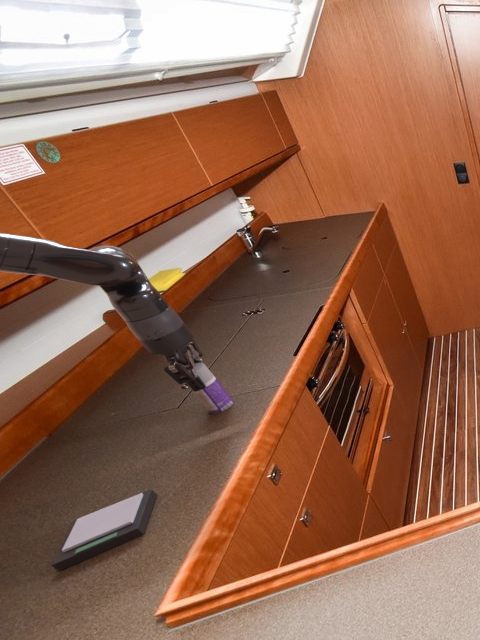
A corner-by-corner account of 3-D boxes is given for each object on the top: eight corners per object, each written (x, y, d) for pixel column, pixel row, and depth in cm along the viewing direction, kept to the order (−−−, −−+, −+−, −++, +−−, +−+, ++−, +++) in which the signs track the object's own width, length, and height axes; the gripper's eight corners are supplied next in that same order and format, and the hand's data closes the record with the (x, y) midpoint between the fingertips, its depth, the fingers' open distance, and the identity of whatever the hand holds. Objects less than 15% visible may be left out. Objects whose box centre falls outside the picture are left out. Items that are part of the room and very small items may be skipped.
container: (236, 401, 109) (204, 359, 101) (237, 411, 106) (205, 368, 98) (212, 411, 106) (178, 368, 99) (213, 421, 103) (178, 378, 96)
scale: (59, 571, 74) (48, 564, 73) (81, 526, 81) (71, 518, 80) (144, 534, 79) (135, 526, 78) (158, 494, 86) (149, 487, 85)
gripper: (145, 319, 95) (188, 372, 104) (126, 351, 85) (175, 407, 94) (188, 308, 99) (226, 360, 108) (175, 338, 89) (218, 393, 98)
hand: (202, 382), depth 101 cm, fingers open, 5 cm apart
